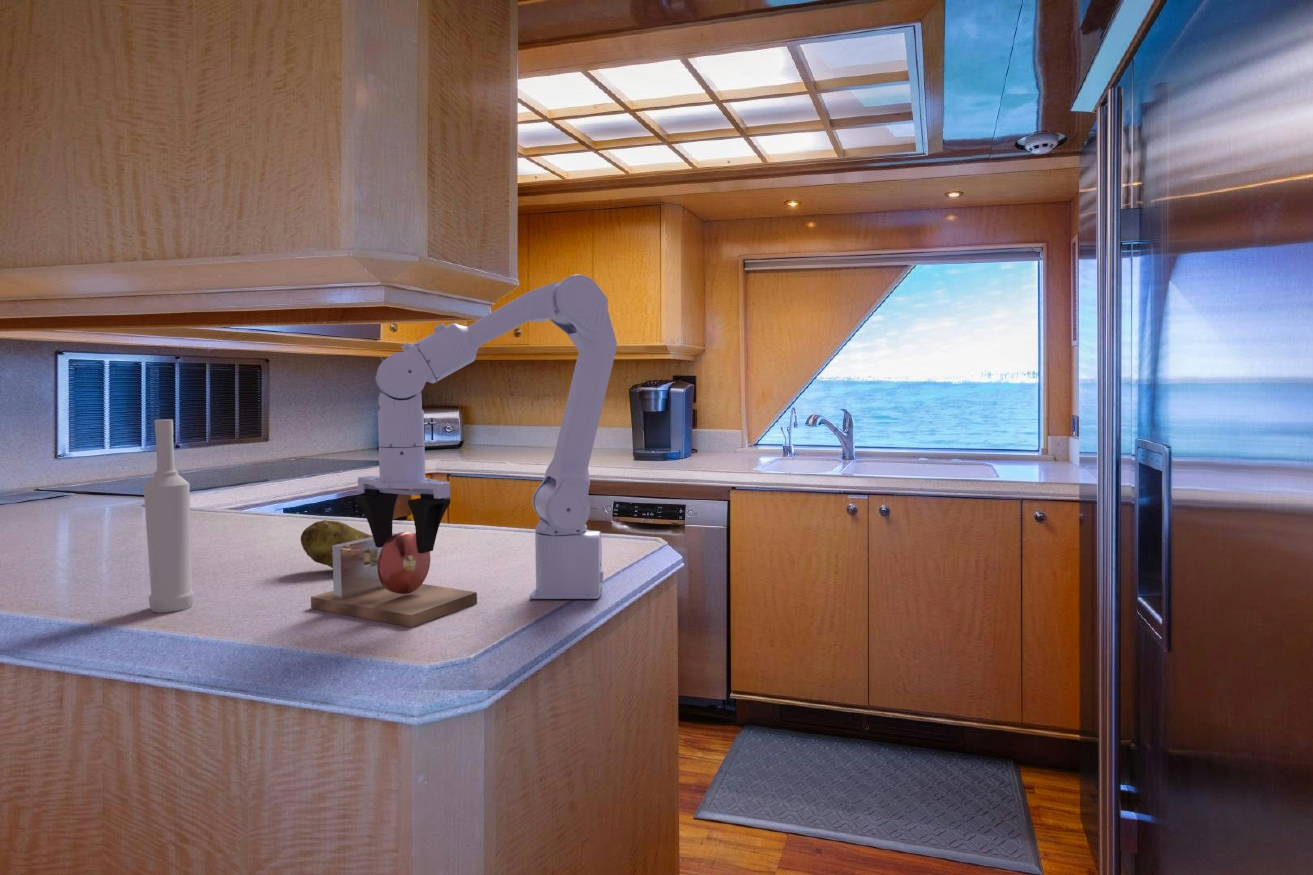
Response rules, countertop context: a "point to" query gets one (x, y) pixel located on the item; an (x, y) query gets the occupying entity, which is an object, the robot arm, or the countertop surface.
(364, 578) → the eye plate
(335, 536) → the potato
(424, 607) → the base board
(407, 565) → the copper disc on rod
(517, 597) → the countertop surface
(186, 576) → the bottle
